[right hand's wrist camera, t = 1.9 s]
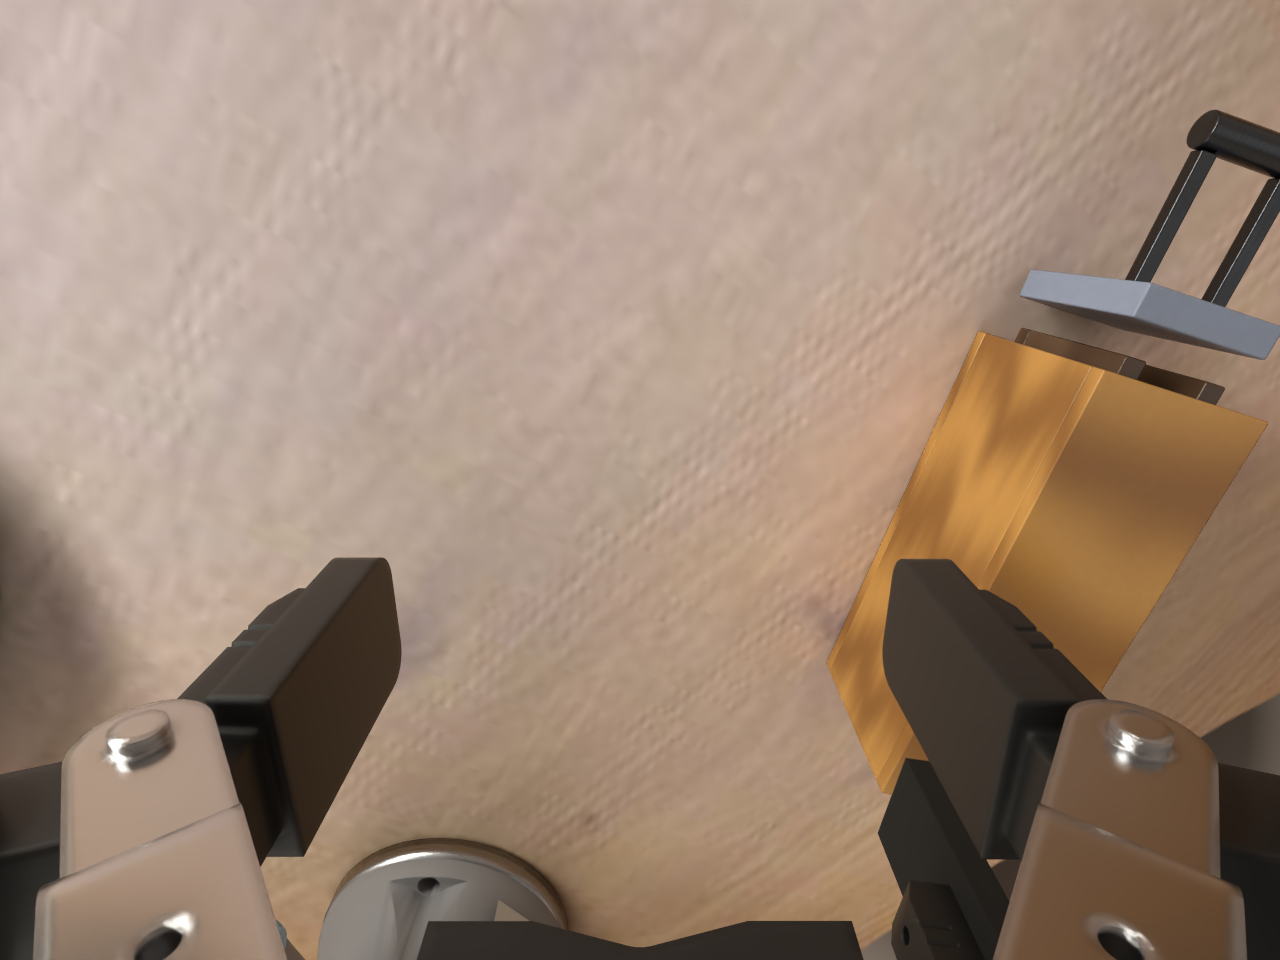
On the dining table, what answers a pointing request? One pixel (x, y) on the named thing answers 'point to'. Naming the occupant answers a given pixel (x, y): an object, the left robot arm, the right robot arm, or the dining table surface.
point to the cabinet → (1044, 515)
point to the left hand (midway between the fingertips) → (1132, 826)
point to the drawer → (1165, 308)
